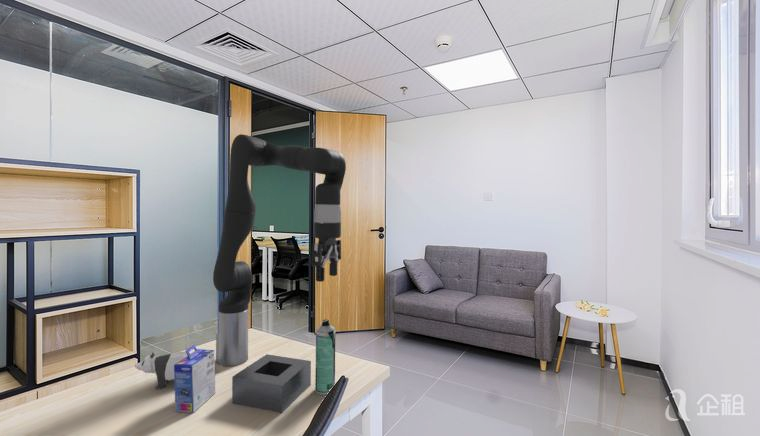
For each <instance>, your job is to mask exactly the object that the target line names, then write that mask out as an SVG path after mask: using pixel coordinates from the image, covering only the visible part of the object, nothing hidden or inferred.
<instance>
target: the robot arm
mask: <svg viewBox="0 0 760 436" xmlns="http://www.w3.org/2000/svg"><path fill="white" fill-rule="evenodd" d="M229 157H230V158H229V160H230V161H229V179H228V180H229V181H228V190H227V196H226V197H227V198H226V202H225V208H224V209H225V210H224V215H223V225H222V232H221V237H220V243H219V244H220V245H219V248H218V252H217V257H216V260H215V264H214V268H213V276H212V281H213V282H212V283H213V285H214V288H215V289H216V291H218V292H220V293H227V292H228V294H227V296H225V297H224V298H223V299H222V300H221V301H219V304H218V331H217V332H216V333H215V363H218V364H219V365H220V366H224V367H233V366H238V365H241V364H244V363H245V362H247V361H248V360H249V304H250V301H251V298H252V297H251V296H252V281H253V276H252V275H253V273H252V269H251V267H250V265H249V264H248V263H247V262H246V261H242V260H241V261H237V257H238V253H239V251H240V249H241V247H242V245H243V243H244V242H246V239H247V238H248V237H249V235H250V233H251V232H252V230H253V228H254V223H255V217H256V211H257V206H256V202H255V199H254V196H253V194H252V191H251V187H250V185H249V181H248V180H249V178H248V176H249V175H248V174H249V166H251V167H266V166H280V167H284V168H285V169H291V170H295V171H301V172H302V171H303V172H310V173H315V174H319V175H324V179H323V182H322V183H319V184H317V185H316V186H315V190H314V191H315V192H314V194H315V195H314V196H315V199H314V204H315V205H314V210H313V218H314V219H313V237H314V238H315V239H318V242H316V243H315V242H313V243H312V244H311V262H310V264H311V266H312V267H314V268H315V282H321V283H322V282H324V281H325V270H326V268H325V265H326V262H327V261H329V268H328V269H329V276H332V277H335V276H338V263H339V261H340V260H342V241H341V239H340V238H341V236H342V210H341V209H342V208H341V191H342V187H343V183H344V179H345V175H346V170H347V163H346V160H345V156H344V154H342V153H341V152H339V151H336V150H332V149H328V148H325V147H317V146H315V147H308V146H301V145H292V144H291V145H277V144H273V143H271V142H268V141H266V140H263V139H261V138H258V137H256V136H255V137H254V136H251V135H247V134H243V133H242V134H241V133H240V134H238V135H236V136H235V137H234V138H233V141H232V143H231V148H230V155H229Z"/></svg>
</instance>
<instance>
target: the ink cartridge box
mask: <svg viewBox="0 0 760 436" xmlns="http://www.w3.org/2000/svg"><path fill="white" fill-rule="evenodd" d="M191 350H194V351H193V352H192V353H190V352H191ZM184 352H186V353H187V357H185V358H184V359H182V360H181V361H179V362H178V363H176V364H175V365H174V379H173V380H174V401H175V403H174V404H175V408H174V409H175V412H181V413H190V414H192V413H195V412H196V411H197V410H198V409H199V408H200V407H202V405H204V404H205V403H206V402H207V401H208V400H209V399H210V398H211V397H213V395H215V394H216V369H215V368H216V367H215V365H216V364H215V363H216V355H215V350H214V349H202V348H199V349H197V347H196V346H195V344H194V345H191V346H190V347H188V348H186V349H185V351H184ZM189 353H190V354H189Z"/></svg>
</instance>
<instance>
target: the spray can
mask: <svg viewBox="0 0 760 436" xmlns="http://www.w3.org/2000/svg"><path fill="white" fill-rule="evenodd" d="M314 380H315V382H314V383H315V385H314V386H315V389H314V390H315V393H316V394H317V395H319V396H327V395H326V394H327V393H328V392H329V390H330V389H331V388H332V387H333V386H334V384H335V385H336V327H335V326H333V325H332V324H331V323H330V320H329V319H323V320H322V323H321V324H320V326H318V327H316V331H315V379H314Z"/></svg>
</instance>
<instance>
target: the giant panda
mask: <svg viewBox="0 0 760 436" xmlns="http://www.w3.org/2000/svg"><path fill="white" fill-rule="evenodd" d="M189 354H191V353H190V352H189ZM185 357H187V353H186V351H176V352H173V353H169V354H163V355H159V356H155V353H154V352H151V354H149V355H146V356H145V357H144V359H143V360H142V361H140V362H138V363H136V364H135V365H134V366H135V368H136V369H137V370H139V371H142V372H144V373H145V374H155V375H156V380H157V386H155V388H154V390H161V389H165V388H166V384H167V383H168V382H169V381H170V380H175V379H174V365H175V364H176V363H178V362H179V361H181V360H182V359H184V358H185Z"/></svg>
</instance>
